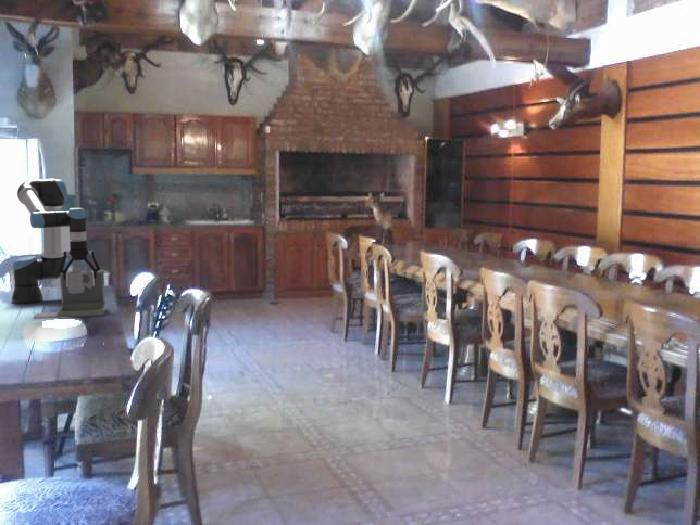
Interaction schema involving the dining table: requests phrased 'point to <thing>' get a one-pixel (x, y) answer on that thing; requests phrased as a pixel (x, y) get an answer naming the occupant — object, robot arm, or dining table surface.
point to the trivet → (45, 315)
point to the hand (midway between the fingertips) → (80, 285)
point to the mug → (78, 281)
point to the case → (83, 299)
